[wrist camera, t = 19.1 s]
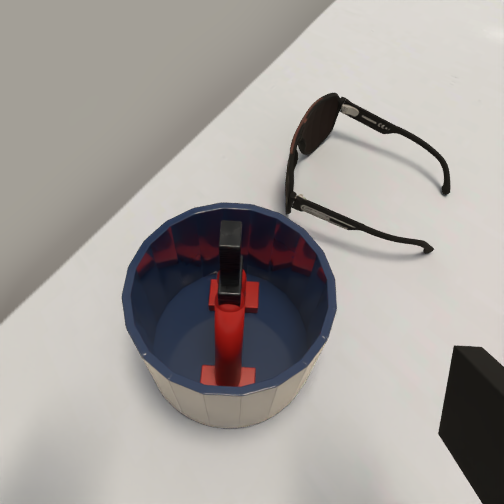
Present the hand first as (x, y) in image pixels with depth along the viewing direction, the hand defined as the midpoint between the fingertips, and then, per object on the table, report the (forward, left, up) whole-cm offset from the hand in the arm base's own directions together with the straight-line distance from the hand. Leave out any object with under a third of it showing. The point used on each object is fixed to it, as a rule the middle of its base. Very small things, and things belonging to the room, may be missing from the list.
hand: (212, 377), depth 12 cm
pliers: (0, +6, -13) cm, 14 cm away
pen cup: (0, +6, -14) cm, 15 cm away
